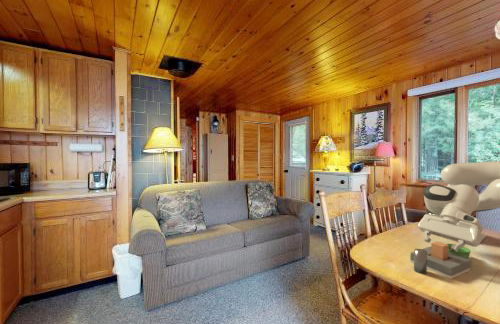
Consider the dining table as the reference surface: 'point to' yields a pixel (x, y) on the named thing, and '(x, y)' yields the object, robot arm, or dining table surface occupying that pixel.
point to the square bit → (439, 250)
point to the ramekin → (460, 251)
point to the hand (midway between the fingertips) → (439, 245)
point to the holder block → (446, 264)
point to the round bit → (420, 261)
